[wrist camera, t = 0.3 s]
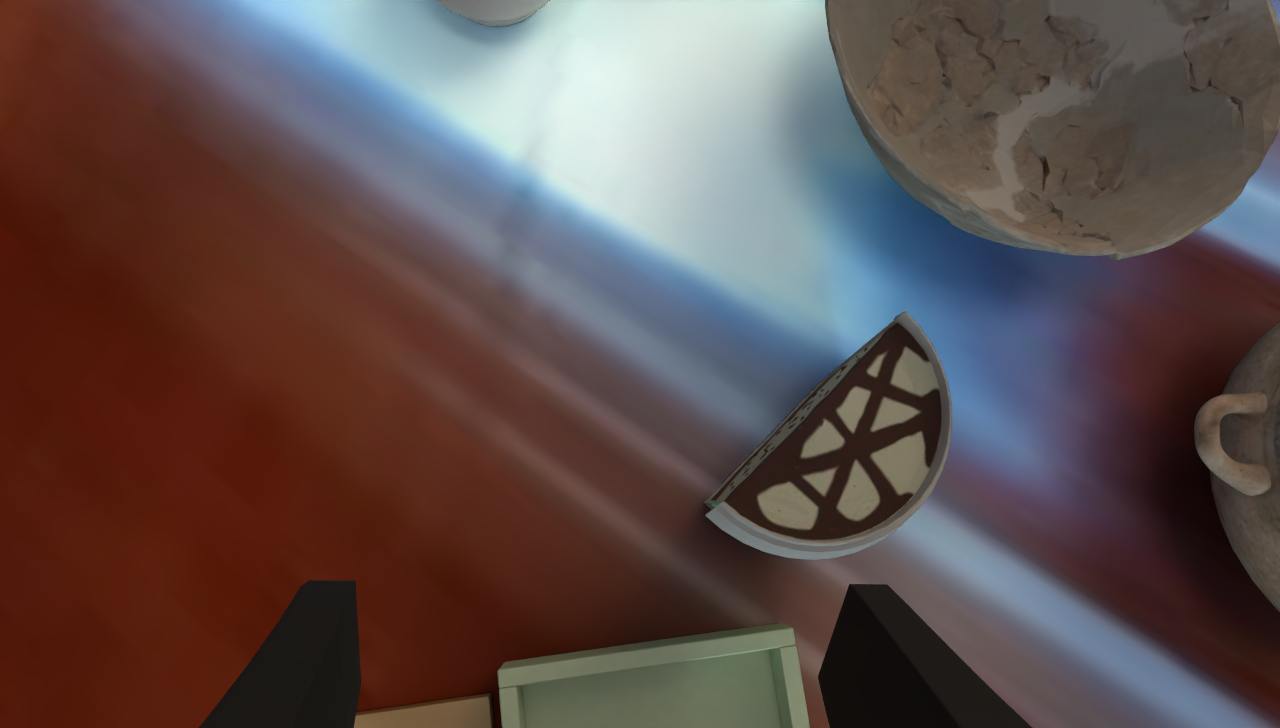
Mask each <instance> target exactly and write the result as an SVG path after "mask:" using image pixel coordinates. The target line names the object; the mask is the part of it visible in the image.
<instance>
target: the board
mask: <svg viewBox="0 0 1280 728" xmlns="http://www.w3.org/2000/svg"><path fill="white" fill-rule="evenodd" d="M354 728H494V717H493V705H492V694H491V693H487V694H480V695H473V696H466V697H460V698H453V699H446V700H439V701H432V702H425V703H418V704H412V705H405V706H398V707H391V708H384V709H377V710H371V711H364V712H357V713H356V717H355V724H354Z"/></svg>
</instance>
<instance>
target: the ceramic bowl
mask: <svg viewBox="0 0 1280 728" xmlns="http://www.w3.org/2000/svg"><path fill="white" fill-rule="evenodd" d="M825 10H826V17H827V25H828V32H829V39H830V43H831V46H832V50H833V53H834V56H835V60H836V63H837V67H838V70H839V74H840V77H841V80H842V84H843V87H844V90H845V94H846V97H847V100H848V103H849V105H850V108H851V110H852V112H853V114H854V116H855V119H856V121H857V123H858V125H859V127H860V129H861V131H862V133H863V135H864V136H865V138H866V140H867V141H868V143H869V145H870V146H871V148H872V150H873V151H874V153H875V155H876V156H877V158H878V159H879V160H880V162H881V163H882V165H883V166H884V167H885V169H886V170H887V172H888V173H889V174H890V176H891V177H892V178H893V179H894V180H895V181H896V182H897V183H898V184H899V185H900V186H901V187H902V188H903V189H904V190H905V191H906V192H907V193H908V194H910V195H911V196H912V197H913V198H915V199H916V200H917V201H919V202H920V203H922V204H923V205H925V206H927V207H928V208H930V209H931V210H933V211H935V212H936V213H938V214H940V215H941V216H943V217H944V218H946V219H947V220H949V222H950V223H951V224H952V225H954V226H956V227H958V228H960V229H962V230H964V231H966V232H968V233H971V234H973V235H976V236H979V237H982V238H985V239H988V240H991V241H994V242H997V243H1001V244H1006V245H1010V246H1014V247H1018V248H1023V249H1034V250H1042V251H1048V252H1051V253H1060V254H1065V255H1080V256H1102V255H1108V256H1109V257H1110V258H1111V259H1114V260H1119V259H1124V258H1128V257H1133V256H1138V255H1143V254H1147V253H1150V252H1153V251H1156V250H1159V249H1162V248H1164V247H1167V246H1170V245H1172V244H1174V243H1176V242H1177V241H1179V240H1181V239H1182V238H1184V237H1186V236H1188V235H1189V234H1191V233H1192V232H1194V231H1196V230H1197V229H1199V228H1200V227H1202V226H1204V225H1205V224H1207V223H1208V222H1210V221H1211V220H1213V219H1214V218H1216V217H1217V216H1219V215H1220V214H1221V213H1222V212H1223V211H1225V210H1226V209H1227V208H1228V207H1229V206H1230V205H1231V204H1232V203H1233V202H1234V201H1235V200H1236V199H1237V198H1238V196H1239V195H1240V194H1241V193H1242V191H1243V189H1244V187H1245V185H1246V183H1247V182H1248V180H1249V179H1250V177H1251V176H1252V175H1253V174H1254V173H1255V172H1256V171H1257V170H1258V169H1259V167H1260V165H1261V163H1262V161H1263V159H1264V157H1265V155H1266V153H1267V151H1268V149H1269V148H1270V146H1271V144H1272V143H1273V141H1274V139H1275V137H1276V135H1277V133H1278V130H1279V127H1280V24H1279V21H1278V18H1277V15H1276V12H1275V10H1274V8H1273V6H1272V4H1271V2H1270V1H1269V0H825Z"/></svg>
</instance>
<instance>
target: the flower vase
mask: <svg viewBox="0 0 1280 728" xmlns="http://www.w3.org/2000/svg"><path fill="white" fill-rule="evenodd" d="M435 1H437V2H438V3H439V4H441V5H442V6H443V7H444V8H446V9H447V10H450V11H452V12H454V13H456V14H459V15H461V16H463V17H465V18H468V19H470V20H472V21H475V22H477V23H479V24H483V25H489V26H508V25H512V24H515V23H519V22H521V21H523V20H525V19H527V18H529V17H530V16H532V15H533V14H534V13H535V12H536V11H537V10H538V9H540V8H542V7H543V6H545V5H546V4H547V3H548V2H549V1H550V0H435Z"/></svg>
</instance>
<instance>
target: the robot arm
mask: <svg viewBox="0 0 1280 728" xmlns="http://www.w3.org/2000/svg"><path fill="white" fill-rule="evenodd" d="M818 679H819V683H820V688H821V692H822V696H823V701H824V705H825V709H826V714H827V718H828V721H829V725H830V728H1032V727H1031V726H1030V725H1029V724H1028V723H1027V722H1026V721H1025V720H1024V719H1022V718H1021V717H1020V716H1019V715H1018V714H1017V713H1016V712H1015V711H1014V710H1013V709H1012V708H1011V707H1010V706H1009V705H1008V704H1006V703H1005V702H1004V701H1003V700H1002V699H1001V698H1000V697H999V696H998V695H997V694H996V693H995V692H994V691H993V690H992V689H991V688H990V687H989V686H988V685H987V684H986V683H985V682H984V681H983V680H982V679H981V678H980V677H979V676H978V675H977V674H976V673H975V672H974V671H973V670H972V669H971V668H970V667H969V666H968V665H967V664H966V663H965V662H964V661H963V660H962V659H961V658H960V657H959V656H958V655H957V654H956V653H955V652H954V651H953V650H952V649H951V648H950V647H949V646H948V645H947V644H946V643H945V642H944V641H943V640H942V639H941V638H940V637H939V636H938V635H937V634H936V633H935V632H934V631H933V630H932V629H931V628H930V627H929V626H928V625H927V624H926V623H925V622H924V621H923V620H922V619H921V618H920V617H919V616H918V615H917V614H916V613H915V612H914V611H913V610H912V609H911V608H910V607H909V606H908V605H907V604H906V603H905V602H904V601H903V600H902V599H901V598H900V597H899V596H898V595H897V594H896V593H895V592H894V591H893V590H892V589H891V588H890V587H889V586H888V585H875V584H849V587H848V590H847V593H846V596H845V599H844V602H843V605H842V608H841V611H840V614H839V617H838V620H837V623H836V625H835V628H834V631H833V634H832V637H831V640H830V643H829V646H828V649H827V652H826V655H825V658H824V661H823V664H822V666H821V669H820V672H819V675H818ZM360 686H361V674H360V656H359V637H358V619H357V600H356V582H355V581H313V580H309V581H308V582H306V583H305V584H304V585H302V586H301V587H300V589H299V590H298V592H297V593H296V595H295V597H294V598H293V600H292V601H291V603H290V605H289V606H288V608H287V609H286V611H285V612H284V614H283V615H282V617H281V618H280V620H279V621H278V623H277V624H276V626H275V627H274V629H273V630H272V632H271V633H270V634H269V636H268V637H267V639H266V640H265V642H264V643H263V644H262V646H261V647H260V649H259V650H258V651H257V653H256V654H255V656H254V657H253V658H252V660H251V661H250V662H249V664H248V665H247V667H246V668H245V669H244V671H243V672H242V673H241V674H240V676H239V677H238V678H237V680H236V681H235V682H234V684H233V685H232V686H231V687H230V689H229V690H228V691H227V693H226V694H225V695H224V697H223V698H222V699H221V700H220V702H219V703H218V704H217V706H216V707H215V708H214V710H213V711H212V712H211V713H210V715H209V716H208V717H207V718H206V720H205V721H204V722H203V723H202V725H201V726H200V727H199V728H354V724H355V717H356V711H357V705H358V699H359V692H360Z"/></svg>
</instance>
